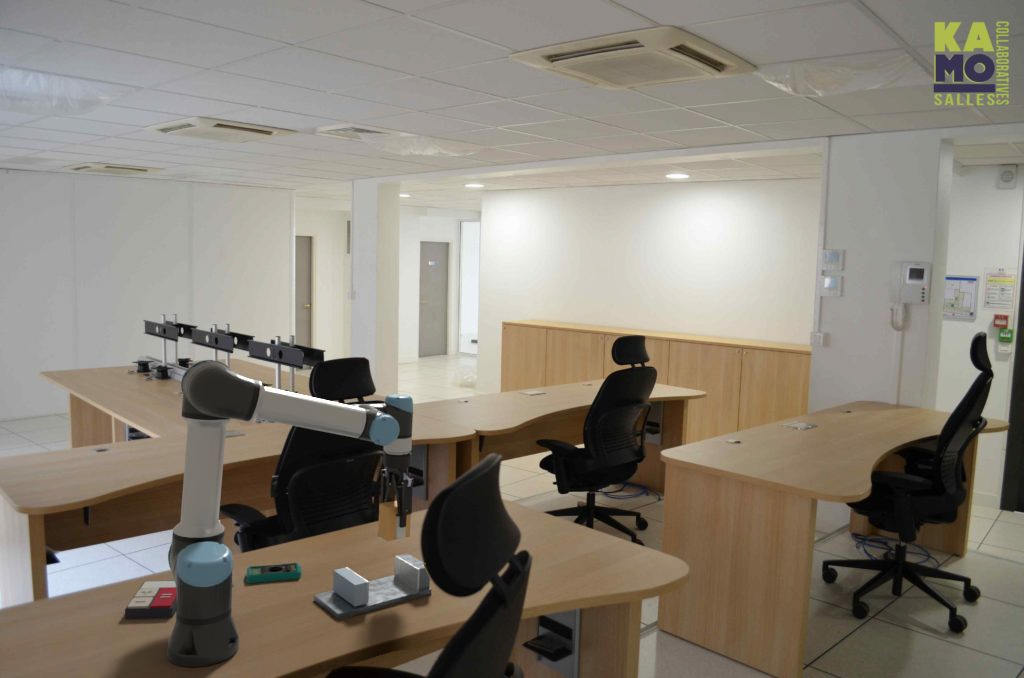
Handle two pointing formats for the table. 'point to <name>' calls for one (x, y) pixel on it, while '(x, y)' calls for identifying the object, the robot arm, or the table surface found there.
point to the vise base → (383, 589)
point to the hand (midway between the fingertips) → (394, 535)
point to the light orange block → (390, 521)
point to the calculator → (153, 601)
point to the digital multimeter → (273, 572)
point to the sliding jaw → (351, 586)
